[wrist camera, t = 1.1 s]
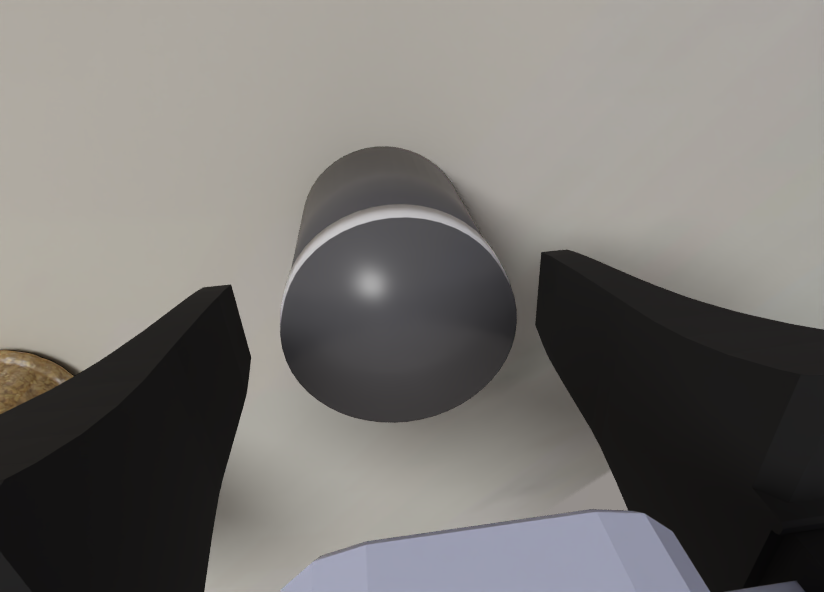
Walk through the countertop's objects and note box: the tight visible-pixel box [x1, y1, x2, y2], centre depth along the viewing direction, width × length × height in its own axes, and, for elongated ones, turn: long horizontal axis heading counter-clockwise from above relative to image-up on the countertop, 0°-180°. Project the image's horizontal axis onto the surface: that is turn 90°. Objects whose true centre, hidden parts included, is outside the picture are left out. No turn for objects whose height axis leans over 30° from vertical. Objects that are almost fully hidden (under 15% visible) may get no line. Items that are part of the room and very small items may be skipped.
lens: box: [280, 147, 517, 423], centre depth 13 cm, size 5×5×6 cm
